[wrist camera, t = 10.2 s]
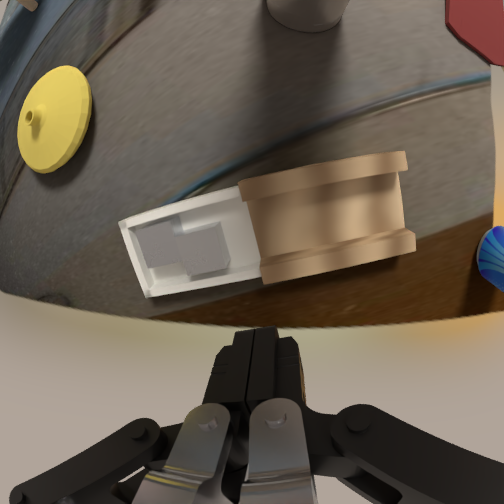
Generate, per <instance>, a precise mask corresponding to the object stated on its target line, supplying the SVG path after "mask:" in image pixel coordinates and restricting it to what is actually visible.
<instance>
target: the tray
mask: <svg viewBox="0 0 504 504" xmlns="http://www.w3.org/2000/svg"><path fill="white" fill-rule="evenodd" d="M176 216H179V217H180V221H181V224H182V227H183V230H187V229H190V228H194V227H198V226H202V225H206V224H210V223H214V222H218V221H220V222H221V226H222V230H223V233H224V237H225V240H226V244H227V247H228V251H229V254H230V257H231V259H230V261H229V263H228V266H227V268H225V269H220V270H215V271H210V272H205V273H200V274H195V275H190V276H187V273H186V270H185V267H184V264H183V261H181V262H177V263H172V264H168V265H163V266H159V267H154V268H150V269H148V268H147V265H146V262H145V259H144V257H143V254H142V251H141V248H140V245H139V242H138V239H137V236H136V233H135V231H137V230H139V229H141V228H142V227H144V226H146V225H149V224H152V223H156V222H159V221H163V220H166V219H169V218H173V217H176ZM118 223H119V226H120V229H121V232H122V235H123V238H124V241H125V244H126V247H127V250H128V253H129V255H130V258H131V261H132V264H133V266H134V269H135V272H136V274H137V277H138V280H139V282H140V285H141V287H142V290H143V292H144V294H145V297H146V298H148V297H154V296H160V295H166V294H171V293H177V292H183V291H188V290H194V289H200V288H205V287H211V286H216V285H221V284H227V283H232V282H237V281H242V280H248V279H253V278H258V277H262V276H261V272H260V268H259V267H260V260H261V257H260V253H259V249H258V246H257V241H256V237H255V233H254V230H253V226H252V222H251V218H250V214H249V210H248V206H247V202H246V201H245V202H242V198H241V194H240V190H239V187H238V185H237V186H233V187H229V188H226V189H222V190H218V191H214V192H210V193H207V194H203V195H200V196H196V197H192V198H189V199H186V200H182V201H179V202H175V203H172V204H169V205H165V206H162V207H159V208H156V209H153V210H149V211H146V212H143V213H140V214H137V215H134V216H131V217H128V218H126V219H124V220H122V221H120V222H118Z"/></svg>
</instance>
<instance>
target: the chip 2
mask: <svg viewBox="0 0 504 504" xmlns="http://www.w3.org/2000/svg"><path fill="white" fill-rule="evenodd" d="M175 240H176V243H177V246H178V249H179V252H180V255H181V258H182V261H183V264H184V267H185V270H186V273H187V276H190V275H195V274H200V273H205V272H210V271H215V270H220V269H225V268H227V266H228V263H229V261H230V259H231V257H230V254H229V251H228V247H227V244H226V240H225V237H224V233H223V230H222V226H221V222H220V221H218V222H214V223H210V224H206V225H202V226H198V227H194V228H190V229H187V230H183V231H182V232H181V233H179V234H178V235H177V236H176V237H175Z"/></svg>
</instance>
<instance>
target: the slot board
mask: <svg viewBox="0 0 504 504" xmlns="http://www.w3.org/2000/svg"><path fill="white" fill-rule="evenodd" d="M404 170H408V167H407V161H406V156H405V151H395V152H384V153H377V154H370V155H363V156H357V157H351V158H345V159H339V160H333V161H328V162H322V163H317V164H312V165H307V166H302V167H297V168H292V169H287V170H283V171H278V172H274V173H269V174H265V175H261V176H256V177H252V178H248V179H244V180H241V181H239V182H237V183H238V187H239V190H240V194H241V198H242V202H245V201H246V202H247V206H248V210H249V214H250V218H251V222H252V226H253V230H254V233H255V237H256V241H257V246H258V249H259V253H260V257H261V260H260V267H259V268H260V272H261V276H262V280H263V284H264V285H265V284H270V283H275V282H280V281H285V280H290V279H295V278H300V277H304V276H309V275H314V274H319V273H323V272H328V271H332V270H337V269H341V268H346V267H350V266H355V265H359V264H364V263H368V262H372V261H376V260H381V259H385V258H389V257H393V256H397V255H401V254H405V253H409V252H413V251H416V241H415V233H413V232H411V231H409V230H408V229H406V228H405V226H404V215H403V206H402V198H401V190H400V183H399V177H398V171H404Z"/></svg>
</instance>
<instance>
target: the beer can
mask: <svg viewBox="0 0 504 504" xmlns="http://www.w3.org/2000/svg"><path fill="white" fill-rule="evenodd" d="M477 263H478V267H479V271H480V273H481V275H482V276H483V277H484V278H485V279H486V280H488V281H489V282H491V283H492V284H493V285H495V286H496V287H497V288H499V289H500V290H501V291H502V292H504V227H502V226H496V227H494V228H492V229H490V230H489V231H487V232H486V233H485V234H484V236H483V237H482V239H481V241H480V243H479V246H478V250H477Z"/></svg>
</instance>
